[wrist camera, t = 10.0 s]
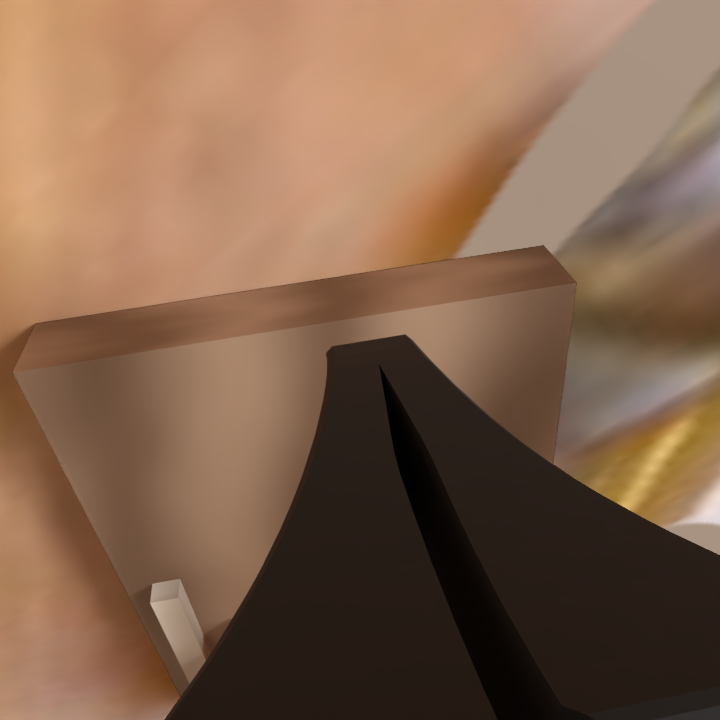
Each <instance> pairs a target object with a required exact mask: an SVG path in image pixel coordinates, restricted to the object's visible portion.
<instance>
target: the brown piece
mask: <svg viewBox="0 0 720 720" xmlns="http://www.w3.org/2000/svg"><path fill="white" fill-rule="evenodd" d="M576 285H577V282H576V281H575V280H574V279H573V278H572V277H571V276H570V275H569V273H568V272H567V271H566V270H565V269H564V268H563V267H562V266H561V264H560V263H559V262H558V261H557V260H556V259H555V258H554V257H553V255H552V254H551V253H550V252H549V251H548V250H547V249H546V248H545V246H544V245H543V246H536V247H530V248H523V249H517V250H510V251H504V252H497V253H491V254H484V255H478V256H471V257H465V258H458V259H452V260H445V261H439V262H433V263H426V264H420V265H413V266H407V267H400V268H394V269H387V270H381V271H374V272H368V273H361V274H355V275H348V276H342V277H335V278H329V279H322V280H316V281H310V282H303V283H297V284H290V285H284V286H277V287H271V288H264V289H258V290H251V291H245V292H238V293H232V294H225V295H219V296H212V297H206V298H200V299H193V300H187V301H180V302H174V303H167V304H161V305H154V306H148V307H141V308H135V309H128V310H122V311H115V312H109V313H102V314H96V315H89V316H83V317H77V318H70V319H64V320H57V321H51V322H44V323H38V324H35V326H34V328H33V330H32V332H31V335H30V337H29V339H28V341H27V343H26V345H25V347H24V349H23V352H22V354H21V356H20V358H19V360H18V362H17V364H16V366H15V368H14V371H13V375H14V377H15V379H16V380H17V382H18V384H19V386H20V388H21V390H22V392H23V394H24V396H25V398H26V400H27V402H28V404H29V406H30V407H31V409H32V411H33V413H34V415H35V417H36V419H37V421H38V423H39V425H40V427H41V429H42V431H43V433H44V434H45V436H46V438H47V440H48V442H49V444H50V446H51V448H52V450H53V452H54V454H55V456H56V458H57V459H58V461H59V463H60V465H61V467H62V469H63V471H64V473H65V475H66V477H67V479H68V481H69V483H70V485H71V486H72V488H73V490H74V492H75V494H76V496H77V498H78V500H79V502H80V504H81V506H82V508H83V510H84V511H85V513H86V515H87V517H88V519H89V521H90V523H91V525H92V527H93V529H94V531H95V533H96V535H97V537H98V538H99V540H100V542H101V544H102V546H103V548H104V550H105V552H106V554H107V556H108V558H109V560H110V562H111V564H112V565H113V567H114V569H115V571H116V573H117V575H118V577H119V579H120V581H121V583H122V585H123V587H124V589H125V590H126V592H127V594H128V596H129V598H130V600H131V602H132V604H133V606H134V608H135V610H136V612H137V614H138V616H139V617H140V619H141V621H142V623H143V625H144V627H145V629H146V631H147V633H148V635H149V637H150V639H151V641H152V642H153V644H154V646H155V648H156V650H157V652H158V654H159V656H160V658H161V660H162V662H163V664H164V666H165V668H166V669H167V671H168V673H169V675H170V677H171V679H172V681H173V683H174V685H175V687H176V689H177V691H178V693H179V695H180V696H182V694H183V693H184V691H185V690H186V688H187V687H188V686H189V684H190V683H191V681H192V680H193V679H194V677H195V676H196V674H197V673H198V671H199V670H200V669H201V667H202V666H203V664H204V663H205V661H206V660H207V658H208V657H209V655H210V654H211V652H212V651H213V649H214V648H215V646H216V644H217V643H218V641H219V639H220V638H221V636H222V634H223V633H224V631H225V629H226V628H227V626H228V625H229V623H230V621H231V618H233V616H234V615H235V613H236V611H237V610H238V608H239V606H240V605H241V603H242V601H243V600H244V598H245V596H246V595H247V593H248V591H249V590H250V588H251V586H252V584H253V582H254V580H255V579H256V577H257V575H258V573H259V571H260V569H261V567H262V565H263V563H264V561H265V559H266V557H267V555H268V553H269V551H270V549H271V547H272V545H273V543H274V541H275V539H276V537H277V535H278V533H279V531H280V529H281V526H282V524H283V522H284V520H285V517H286V515H287V513H288V510H289V508H290V506H291V503H292V501H293V498H294V496H295V493H296V491H297V488H298V485H299V483H300V480H301V477H302V475H303V471H304V468H305V465H306V462H307V459H308V456H309V453H310V450H311V446H312V443H313V440H314V437H315V433H316V429H317V425H318V420H319V416H320V412H321V407H322V403H323V398H324V392H325V385H326V377H327V357H326V352H327V351H328V350H329V349H330V348H331V347H332V346H337V345H343V344H349V343H355V342H361V341H367V340H373V339H380V338H386V337H392V336H398V335H404V334H406V335H407V336H408V337H410V338H411V339H412V340H413V341H414V342H415V343H416V344H417V346H418V347H419V348H420V349H421V350H422V351H423V352H424V353H425V354H426V355H427V357H428V358H429V359H430V360H431V361H432V362H433V363H434V364H435V365H436V366H437V367H438V368H439V369H440V370H441V371H442V372H443V373H444V374H445V375H446V376H447V377H448V378H449V379H450V380H451V381H452V382H453V383H454V384H455V385H456V386H457V387H458V388H459V389H460V390H462V391H463V392H464V393H465V394H466V395H467V396H468V397H469V398H470V399H471V400H473V401H474V402H475V403H476V404H477V405H478V406H479V407H480V408H481V409H482V410H484V411H485V412H486V413H487V414H488V415H489V416H491V417H492V418H493V419H494V420H495V421H497V422H498V423H499V424H500V425H501V426H503V427H504V428H505V429H506V430H508V431H509V432H510V433H511V434H513V435H514V436H515V437H516V438H518V439H519V440H520V441H522V442H523V443H524V444H526V445H527V446H528V447H530V448H531V449H532V450H534V451H535V452H536V453H538V454H539V455H540V456H542V457H543V458H545V459H546V460H547V461H549V462H550V463H552V464H553V460H554V453H555V445H556V438H557V430H558V422H559V415H560V407H561V399H562V392H563V384H564V376H565V369H566V361H567V353H568V346H569V338H570V330H571V323H572V315H573V308H574V300H575V292H576Z"/></svg>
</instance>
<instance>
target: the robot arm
mask: <svg viewBox="0 0 720 720" xmlns="http://www.w3.org/2000/svg"><path fill="white" fill-rule="evenodd" d="M326 357H327V377H326V385H325V392H324V398H323V403H322V407H321V412H320V416H319V420H318V425H317V429H316V433H315V437H314V440H313V443H312V446H311V450H310V453H309V456H308V459H307V462H306V465H305V468H304V471H303V475H302V477H301V480H300V483H299V485H298V488H297V491H296V493H295V496H294V498H293V501H292V503H291V506H290V508H289V510H288V513H287V515H286V517H285V520H284V522H283V524H282V526H281V529H280V531H279V533H278V535H277V537H276V539H275V541H274V543H273V545H272V547H271V549H270V551H269V553H268V555H267V557H266V559H265V561H264V563H263V565H262V567H261V569H260V571H259V573H258V575H257V577H256V579H255V580H254V582H253V584H252V586H251V588H250V590H249V591H248V593H247V595H246V596H245V598H244V600H243V601H242V603H241V605H240V606H239V608H238V610H237V611H236V613H235V615H234V616H233V618H232V620H231V621H230V623H229V625H228V626H227V628H226V629H225V631H224V633H223V634H222V636H221V638H220V639H219V641H218V643H217V644H216V646H215V648H214V649H213V651H212V652H211V654H210V655H209V657H208V658H207V660H206V661H205V663H204V664H203V666H202V667H201V669H200V670H199V671H198V673H197V674H196V676H195V677H194V679H193V680H192V681H191V683H190V684H189V686H188V687H187V688H186V690H185V691H184V693H183V694H182V696H181V697H180V698H179V700H178V701H177V703H176V704H175V706H174V707H173V708H172V710H171V711H170V713H169V714H168V715H167V717H166V718H165V720H720V555H718V554H716V553H714V552H712V551H709V550H707V549H705V548H703V547H701V546H699V545H697V544H695V543H692V542H690V541H688V540H686V539H684V538H682V537H680V536H678V535H676V534H673V533H671V532H669V531H667V530H665V529H663V528H662V527H660V526H658V525H656V524H654V523H652V522H650V521H648V520H646V519H644V518H642V517H640V516H639V515H637V514H635V513H633V512H631V511H630V510H628V509H626V508H624V507H622V506H621V505H619V504H617V503H615V502H613V501H612V500H610V499H608V498H606V497H604V496H603V495H601V494H599V493H597V492H595V491H594V490H592V489H590V488H589V487H587V486H586V485H584V484H582V483H581V482H579V481H577V480H576V479H574V478H573V477H571V476H570V475H568V474H567V473H565V472H564V471H562V470H561V469H559V468H558V467H556V466H555V465H553V464H552V463H550V462H549V461H547V460H546V459H545V458H543V457H542V456H540V455H539V454H538V453H536V452H535V451H534V450H532V449H531V448H530V447H528V446H527V445H526V444H524V443H523V442H522V441H520V440H519V439H518V438H516V437H515V436H514V435H513V434H511V433H510V432H509V431H508V430H506V429H505V428H504V427H503V426H501V425H500V424H499V423H498V422H497V421H495V420H494V419H493V418H492V417H491V416H489V415H488V414H487V413H486V412H485V411H484V410H482V409H481V408H480V407H479V406H478V405H477V404H476V403H475V402H474V401H473V400H471V399H470V398H469V397H468V396H467V395H466V394H465V393H464V392H463V391H462V390H460V389H459V388H458V387H457V386H456V385H455V384H454V383H453V382H452V381H451V380H450V379H449V378H448V377H447V376H446V375H445V374H444V373H443V372H442V371H441V370H440V369H439V368H438V367H437V366H436V365H435V364H434V363H433V362H432V361H431V360H430V359H429V358H428V357H427V355H426V354H425V353H424V352H423V351H422V350H421V349H420V348H419V347H418V346H417V344H416V343H415V342H414V341H413V340H412V339H411V338H410V337H408V336H407V335H406V334H404V335H398V336H392V337H386V338H380V339H373V340H367V341H361V342H355V343H349V344H343V345H337V346H332V347H331V348H330V349H329V350H328V351H327V352H326Z"/></svg>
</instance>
